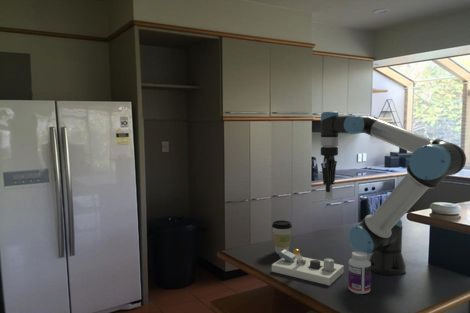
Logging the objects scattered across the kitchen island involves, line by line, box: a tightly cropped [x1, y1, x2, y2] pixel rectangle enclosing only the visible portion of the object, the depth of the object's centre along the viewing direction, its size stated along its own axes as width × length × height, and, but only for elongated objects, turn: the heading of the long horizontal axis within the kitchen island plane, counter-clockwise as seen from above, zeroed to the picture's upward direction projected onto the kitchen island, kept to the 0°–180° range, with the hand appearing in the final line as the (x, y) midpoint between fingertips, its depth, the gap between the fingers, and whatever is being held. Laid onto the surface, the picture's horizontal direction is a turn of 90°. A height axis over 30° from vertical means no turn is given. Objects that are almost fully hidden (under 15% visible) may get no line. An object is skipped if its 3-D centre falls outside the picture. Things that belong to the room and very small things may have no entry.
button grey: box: [323, 258, 335, 272], centre depth 157 cm, size 4×4×4 cm
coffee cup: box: [271, 219, 293, 255], centre depth 188 cm, size 10×10×15 cm
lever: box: [293, 248, 303, 264], centre depth 162 cm, size 3×3×9 cm
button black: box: [310, 259, 321, 270], centre depth 161 cm, size 4×4×4 cm
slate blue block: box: [278, 249, 296, 262], centre depth 168 cm, size 6×4×2 cm
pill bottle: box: [347, 250, 372, 295], centre depth 144 cm, size 8×8×14 cm
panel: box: [271, 256, 345, 286], centre depth 163 cm, size 26×16×5 cm, turn 55°
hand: (328, 198), depth 172 cm, fingers closed
